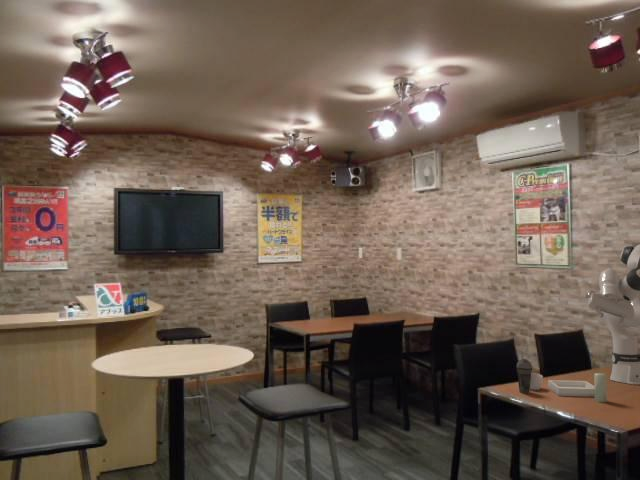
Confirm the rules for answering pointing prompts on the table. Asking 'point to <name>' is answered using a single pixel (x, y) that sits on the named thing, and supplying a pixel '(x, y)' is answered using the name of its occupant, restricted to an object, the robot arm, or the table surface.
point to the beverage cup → (524, 374)
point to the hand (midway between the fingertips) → (611, 320)
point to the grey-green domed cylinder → (600, 387)
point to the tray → (571, 388)
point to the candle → (535, 381)
